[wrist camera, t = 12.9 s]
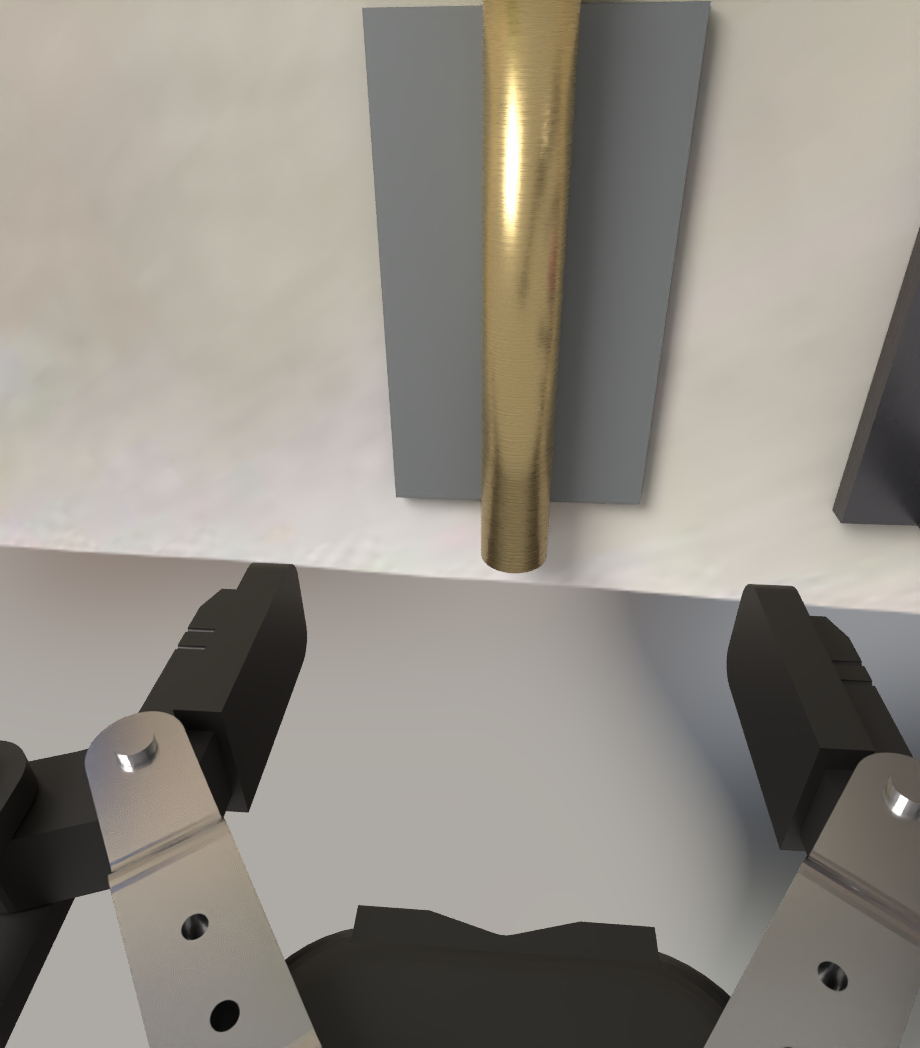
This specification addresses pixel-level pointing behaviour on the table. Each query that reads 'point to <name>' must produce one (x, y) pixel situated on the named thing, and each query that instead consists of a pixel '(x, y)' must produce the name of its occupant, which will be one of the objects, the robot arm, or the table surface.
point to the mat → (591, 241)
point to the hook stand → (889, 424)
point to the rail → (523, 265)
